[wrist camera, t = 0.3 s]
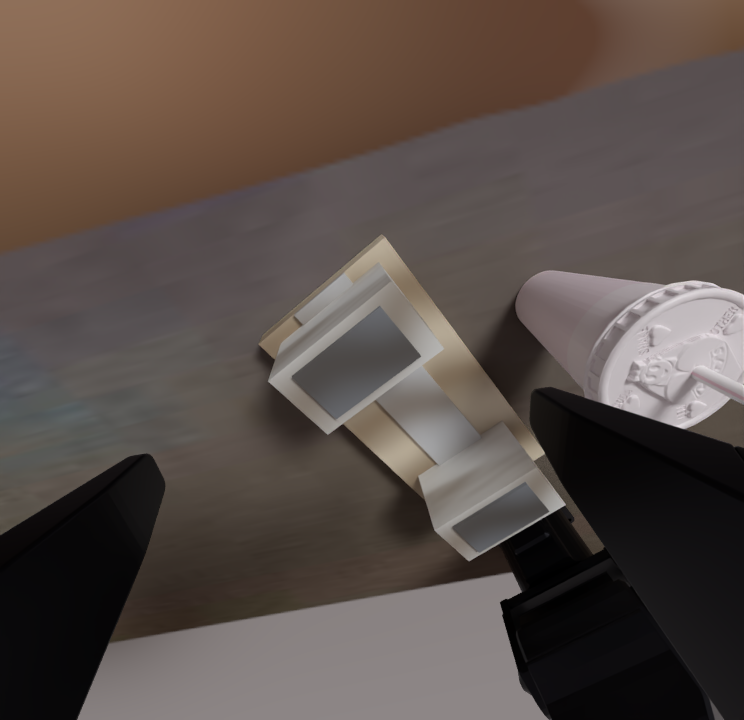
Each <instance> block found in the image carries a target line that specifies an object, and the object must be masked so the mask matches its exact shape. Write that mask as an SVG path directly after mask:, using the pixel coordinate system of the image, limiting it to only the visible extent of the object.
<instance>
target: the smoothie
mask: <svg viewBox="0 0 744 720" xmlns="http://www.w3.org/2000/svg"><path fill="white" fill-rule="evenodd" d="M515 309H516V314H517V316H518V318H519V320H520V321H521V322H522V323H523V324H524V325H525V327H526V328H527V329H528V330H529V331H530V332H531V333H532V334H533V335H534V336H535V337H536V339H537V340H538V341H539V342H540V343H541V344H542V345H543V346H544V347H545V348H546V349H547V351H548V352H549V353H550V354H551V355H552V356H553V357H554V358H555V359H556V360H557V361H558V362H559V364H560V365H561V366H562V367H563V368H564V369H565V370H566V371H567V372H568V373H569V374H570V376H571V377H572V378H573V379H574V380H575V381H576V383H577V384H578V385H579V386H580V387H581V388H582V389H583V390H584V395H585V398H587V399H591V400H594V401H597V402H600V403H603V404H606V405H609V406H613V407H616V408H619V409H622V410H625V411H628V412H631V413H635V414H638V415H641V416H644V417H647V418H650V419H654V420H657V421H660V422H663V423H666V424H669V425H672V426H676V427H679V428H682V429H686V428H688V427H691V426H693V425H695V424H697V423H699V422H700V421H702V420H704V419H705V418H707V417H709V416H710V415H711V414H713V413H714V412H715V411H717V410H718V409H719V408H721V407H722V406H723V405H724V404H725V403H726V402H727V401H728V400H730V399H733V400H735V401H737V402H739V403H741V404H743V405H744V385H743V384H744V295H743V294H741V293H738V292H736V291H733V290H729V289H724V288H721V287H719V286H717V285H715V284H713V283H707V282H700V281H686V282H679V283H672V284H669V285H661V284H655V283H645V282H637V281H630V280H622V279H614V278H607V277H599V276H592V275H584V274H576V273H569V272H561V271H553V270H550V271H543V272H540V273H538V274H536V275H534V276H533V277H531V278H530V279H529V280H528V281H526V283H525V284H524V285H523V286H522V288H521V289H520V291H519V293H518V295H517V298H516V303H515Z"/></svg>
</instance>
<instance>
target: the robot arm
mask: <svg viewBox="0 0 744 720" xmlns="http://www.w3.org/2000/svg"><path fill="white" fill-rule="evenodd" d="M529 420H530V425H531V428H532V430H533V432H534V434H535V436H536V438H537V439H538V441H539V443H540V445H541V447H542V449H543V451H544V452H545V454H546V456H547V458H548V460H549V462H550V464H551V465H552V467H553V469H554V471H555V473H556V475H557V476H558V478H559V480H560V482H561V483H562V485H563V486H564V488H565V489H566V491H567V492H568V494H569V495H570V497H571V498H572V500H573V501H574V503H575V504H576V505H577V507H578V508H579V510H580V511H581V513H582V514H583V516H584V517H585V519H586V520H587V521H588V523H589V524H590V526H591V527H592V529H593V530H594V532H595V533H596V535H597V536H598V537H599V539H600V540H601V542H602V543H603V545H604V546H605V547H604V550H602V551H600V552H598V553H596V554H594V555H593V554H592V552H591V551H590V549H589V548H588V547H587V545H586V544H585V542H584V541H583V540H582V538H581V537H580V535H579V534H578V533H577V531H576V530H575V529H574V527H573V526H572V524H571V523H572V522H573V521H574V517H573V516H572V514H571V513H570V512H569V510H568V509H567V508H566V507H565V506H563V507H561V508H560V509H558V510H556V511H555V512H553V513H551V514H549V515H548V516H546V517H544V518H543V519H541V520H539V521H537V522H536V523H534V524H532V525H531V526H529V527H527V528H525V529H524V530H522V531H520V532H519V533H517V534H515V535H513V536H512V537H510V538H508V539H507V540H505V541H503V542H501V543H500V544H498V545H499V546H500V547H501V549H502V551H503V553H504V555H505V557H506V559H507V561H508V563H509V565H510V568H511V570H512V572H513V574H514V576H515V578H516V580H517V582H518V585H519V587H520V589H521V591H522V593H520V594H518V595H516V596H514V597H512V598H510V599H505V600H503V601H501V602H500V604H501V608H502V611H503V615H502V616H503V619H504V623H505V627H506V630H507V633H508V637H509V640H510V644H511V647H512V651H513V655H514V658H515V662H516V665H517V669H518V675H519V681H520V684H521V686H522V688H523V689H524V691H526V692H527V693H529V694H530V695H532V696H533V698H534V700H535V701H536V703H537V705H538V706H539V708H540V709H541V711H542V712H543V713H544V715H545V716H546V717H547V718H548V719H549V720H723V719H724V720H744V448H742V447H739V446H735V447H733V445H731V444H729V443H726V442H723V441H720V440H717V439H713V438H710V437H707V436H704V435H701V434H698V433H694V432H691V431H688V430H685V429H682V428H679V427H676V426H672V425H669V424H666V423H663V422H660V421H657V420H654V419H650V418H647V417H644V416H641V415H638V414H635V413H631V412H628V411H625V410H622V409H619V408H616V407H613V406H609V405H606V404H603V403H600V402H597V401H594V400H591V399H587V398H584V397H581V396H578V395H575V394H572V393H569V392H565V391H562V390H559V389H556V388H553V387H545V388H539V389H534V390H533V391H532V393H531V399H530V417H529ZM164 492H165V481H164V478H163V476H162V474H161V472H160V470H159V468H158V466H157V464H156V462H155V460H154V458H153V457H152V456H151V455H150V454H140V455H134V456H130V457H127V458H126V459H124V460H122V461H121V462H119V463H118V464H116V465H114V466H113V467H111V468H109V469H108V470H106V471H105V472H103V473H101V474H100V475H98V476H96V477H95V478H93V479H91V480H90V481H88V482H87V483H85V484H83V485H82V486H80V487H78V488H77V489H75V490H73V491H72V492H70V493H69V494H67V495H65V496H64V497H62V498H60V499H59V500H57V501H56V502H54V503H52V504H51V505H49V506H47V507H46V508H44V509H42V510H41V511H39V512H38V513H36V514H34V515H33V516H31V517H29V518H28V519H26V520H25V521H23V522H21V523H20V524H18V525H16V526H15V527H13V528H11V529H10V530H8V531H7V532H5V533H3V534H2V535H0V720H77V719H78V716H79V714H80V711H81V709H82V706H83V704H84V702H85V699H86V697H87V694H88V692H89V689H90V687H91V685H92V682H93V680H94V677H95V675H96V673H97V670H98V668H99V665H100V663H101V661H102V658H103V656H104V653H105V651H106V649H107V646H108V644H109V641H110V639H111V636H112V634H113V632H114V629H115V627H116V624H117V622H118V620H119V617H120V615H121V612H122V610H123V608H124V605H125V603H126V600H127V598H128V595H129V593H130V591H131V588H132V586H133V583H134V581H135V579H136V576H137V574H138V571H139V569H140V566H141V564H142V561H143V559H144V556H145V553H146V550H147V547H148V544H149V541H150V538H151V535H152V531H153V528H154V525H155V521H156V518H157V515H158V512H159V508H160V505H161V502H162V498H163V495H164ZM722 717H723V718H722Z"/></svg>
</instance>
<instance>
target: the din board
mask: <svg viewBox="0 0 744 720" xmlns="http://www.w3.org/2000/svg"><path fill="white" fill-rule="evenodd" d="M259 345H260V346H261V347H262V348H263V349H264V350H265V351H266V352H267V353H268V354H269V355H270V356H271V357H272V358H274V359H275V362H274V365H273V368H272V371H271V374H270V377H269V380H268V382H269V383H270V384H272V385H273V386H274V387H275V388H276V389H277V390H278V391H279V392H281V393H282V394H283V395H284V396H285V397H286V398H287V399H288V400H289V401H291V402H292V403H293V404H294V405H295V406H296V407H297V408H298V409H299V410H301V411H302V412H303V413H304V414H305V415H306V416H307V417H308V418H310V419H311V420H312V421H313V422H314V423H315V424H316V425H317V426H318V427H320V428H321V429H322V430H323V431H324V432H325V433H326V434H327V435H328V434H329V433H331V432H332V431H334V430H335V429H336V428H338V427H339V426H340V425H342V424H344V425H345V426H346V427H347V428H348V429H349V430H350V431H351V432H352V433H354V434H355V435H356V436H357V437H358V438H359V439H360V440H361V441H362V442H363V443H364V444H365V445H366V446H367V447H368V448H370V449H371V450H372V451H373V452H374V453H375V454H376V455H377V456H378V457H379V458H380V459H381V460H382V461H383V462H384V463H386V464H387V465H388V466H389V467H390V468H391V469H392V470H393V471H394V472H395V473H396V474H397V475H398V476H399V477H400V478H401V479H403V480H404V481H405V482H406V483H407V484H408V485H409V486H410V487H411V488H412V489H413V490H414V491H415V492H416V493H417V494H419V495H420V496H421V497H422V498H423V499H424V500H425V501H426V504H427V507H428V511H429V514H430V517H431V521H432V524H433V527H434V531H436V532H437V533H438V534H439V535H440V536H441V537H442V538H443V539H445V540H446V541H447V542H448V543H449V544H450V545H451V546H452V547H453V548H455V549H456V550H457V551H458V552H459V553H460V554H461V555H462V556H464V557H465V558H466V559H467V560H468V561H471V560H472V559H474V558H476V557H477V556H479V555H481V554H483V553H484V552H486V551H488V550H489V549H491V548H493V547H495V546H496V545H498V544H500V543H501V542H503V541H505V540H507V539H508V538H510V537H512V536H513V535H515V534H517V533H519V532H520V531H522V530H524V529H525V528H527V527H529V526H531V525H532V524H534V523H536V522H537V521H539V520H541V519H543V518H544V517H546V516H548V515H549V514H551V513H553V512H555V511H556V510H558V509H560V508H561V507H563V506H565V505H566V504H565V503H564V502H563V500H562V499H561V497H560V496H559V495H558V493H557V492H556V491H555V489H554V488H553V487H552V485H551V484H550V483H549V481H548V480H547V479H546V477H545V476H544V475H543V473H542V472H541V471H540V469H539V468H538V467H537V465H536V464H535V463H534V460H536V459H537V458H539V457H541V456H542V455H544V454H545V452H544V451H543V449H542V448H541V447H540V445H539V444H538V443H537V441H536V440H535V438H534V437H533V436H532V434H531V433H530V432H529V430H528V429H527V428H526V426H525V425H524V424H523V422H522V421H521V420H520V418H519V417H518V416H517V414H516V413H515V412H514V410H513V409H512V408H511V406H510V405H509V403H508V402H507V401H506V399H505V398H504V397H503V395H502V394H501V393H500V391H499V390H498V389H497V387H496V386H495V385H494V383H493V382H492V381H491V379H490V378H489V377H488V375H487V374H486V373H485V371H484V370H483V368H482V367H481V366H480V364H479V363H478V362H477V360H476V359H475V358H474V356H473V355H472V354H471V352H470V351H469V350H468V348H467V347H466V346H465V344H464V343H463V342H462V340H461V339H460V338H459V336H458V335H457V334H456V332H455V331H454V329H453V328H452V327H451V325H450V324H449V323H448V321H447V320H446V319H445V317H444V316H443V315H442V313H441V312H440V311H439V309H438V308H437V307H436V305H435V304H434V303H433V301H432V300H431V299H430V297H429V296H428V294H427V293H426V292H425V290H424V289H423V288H422V286H421V285H420V284H419V282H418V281H417V280H416V278H415V277H414V276H413V274H412V273H411V272H410V270H409V269H408V268H407V266H406V265H405V264H404V262H403V261H402V259H401V258H400V257H399V255H398V254H397V253H396V251H395V250H394V249H393V247H392V246H391V245H390V243H389V242H388V241H387V239H386V238H385V237H384V236H383V235H382V234H381V235H380V236H379V237H377V238H376V239H375V240H374V241H373V242H372V243H370V244H369V245H368V246H367V247H366V248H365V249H363V250H362V251H361V252H360V253H359V254H357V255H356V256H355V257H354V258H353V259H352V260H350V261H349V262H348V263H347V264H346V265H345V266H343V267H342V268H341V269H340V270H339V271H337V272H336V273H335V274H334V275H333V276H332V277H330V278H329V279H328V280H327V281H326V282H325V283H323V284H322V285H321V286H320V287H319V288H317V289H316V290H315V291H314V292H313V293H312V294H310V295H309V296H308V297H307V298H306V299H305V300H303V301H302V302H301V303H300V304H299V305H297V306H296V307H295V308H294V309H293V310H292V311H290V312H289V313H288V314H287V315H286V316H285V317H283V318H282V319H281V320H280V321H279V322H277V323H276V324H275V325H274V326H273V327H272V328H270V329H269V330H268V331H267V332H266V333H265V334H263V336H262V338H261V340H260V342H259Z"/></svg>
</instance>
